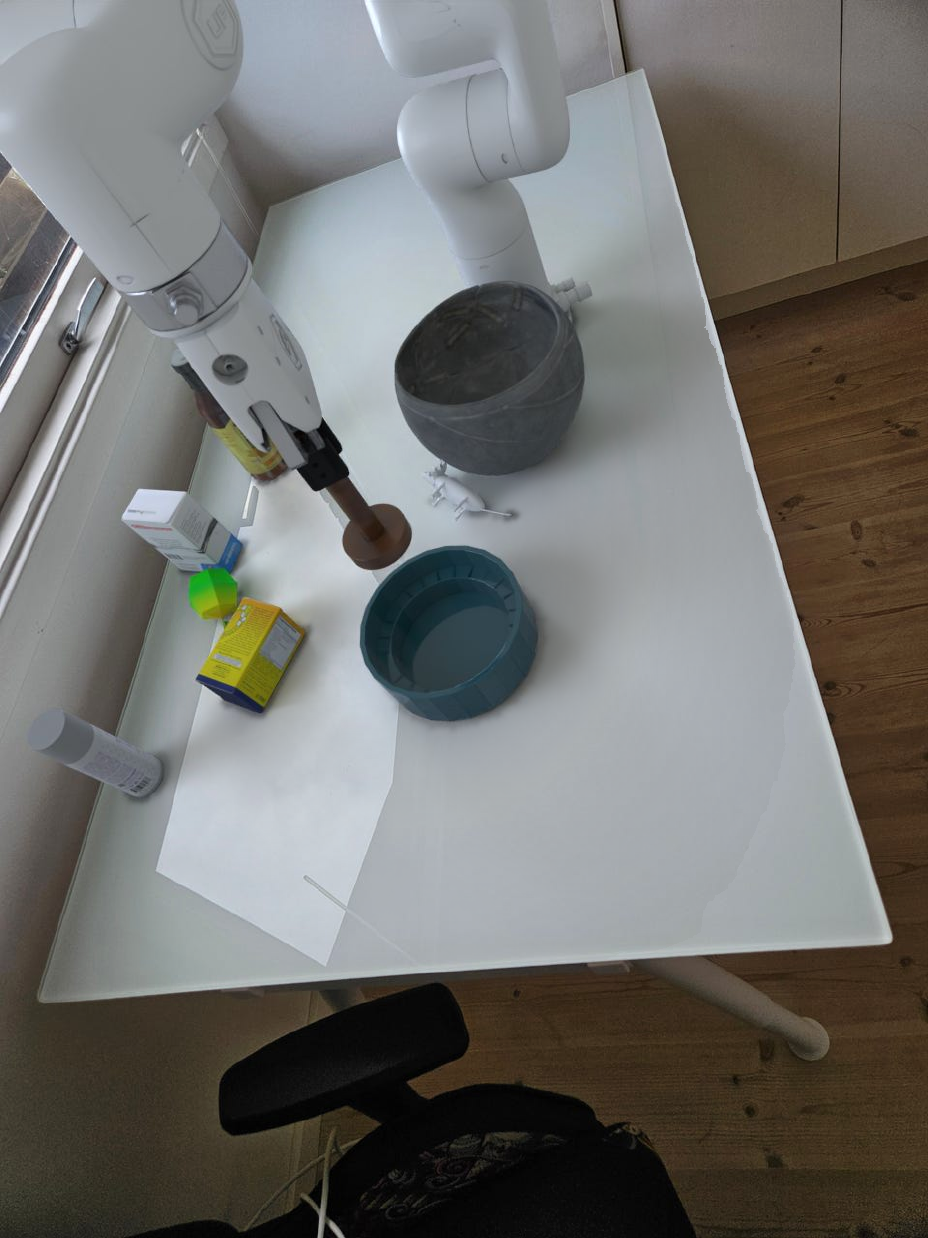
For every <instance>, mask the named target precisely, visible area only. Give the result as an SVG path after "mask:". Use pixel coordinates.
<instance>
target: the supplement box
mask: <svg viewBox="0 0 928 1238" xmlns="http://www.w3.org/2000/svg"><path fill="white" fill-rule="evenodd" d="M228 621H229V623H228V624H227V626H226V628H225V630H224V629H223V632H222V633H221V635H220V636H219V638H218V639H217V642H216V643H215V645H214V647H213V648H212V650H211V652H210V654H209V655H208V657H207V658H206V660H205V661H204V664H203V666H202V667H201V668H200V670H199V672H198V674H196V675H197V676H196V677H195V680H194V681H195V682H197V683H199V684H200V685H202V686H204V687H205V688H207V689H208V690H209V691H211V692H212V693H214V694H215V695H217V696H218V697H219V698H221V699H222V700H223V701H225V702H227V703H230V704H233V705H235V706H237V707H240V708H242V709H243V708H244V709H246V710H249V711H251V712H254V713H256V714H260V715H261V714H262V713H263V711H264V709H265V707H266V706H267V704H268V703H269V701H270V699H271V696H272V695H273V693H274V691H275V689H276V687H277V685H278V684H279V682H280V680H281V678H282V677H283V674H284V673H285V671H286V669H287V667H288V665H289V664H290V662H291V660H292V658H293V657H294V655H295V653H296V651H297V649H298V647H299V645H300V644H301V642H302V640H303V638H304V637H305V636H306V634H307V633H306V630H305V629H304V628H303V627H301V626H300V625H299V624H298V623H297V622H295V620H293V619H292V617H290V616H289V615H288V614H287V613H286V612H285V611H284V610H283V608H282V607H281V606H278V605H274V604H270V603H267V602H263V601H260V600H256V599H253V598H250V597H245V596H243V597H242V599H241V601H240V603H239V605H237V610H236V611H235V612H233V615H232V616H231V618H230V620H228Z"/></svg>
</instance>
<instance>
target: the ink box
mask: <svg viewBox="0 0 928 1238" xmlns="http://www.w3.org/2000/svg"><path fill="white" fill-rule="evenodd" d="M120 520H121V521H122V522H123V523H124V524H126V526H127V527H129V528H130V529H131V530H133V531H134V532H135V533H136V534H137V535H138V536H140V537H141V538H142V539H143V540H145V541H146V542H147V543H148V544H150V545H151V546H152V547H153V548H154V549H156V550H157V551H158V552H159V553H160V554H162V555H163V556H164V557H165V558H166V559H168V560H169V561H170V562H171V563H172V564H174V565H175V566H176V567H177V568H179V570H181V571H188V572H189V571H190V572H199V573H200V572H202V571H204V570H206V569H222V568H225V570H226V571H227V572H228V573H229V574H230V575H231V572H232V571H233V568H234V565H235V564H236V561H237V559H238V557H239V555H240V552H241V549H242V547H243V543H242V542H241V541H240V540H239V539H238V538H237V537H236V536H235V535H234V534H232V533H231V532H230V531H229V530H228V529H227V528H226V527H225V526H224V525H223V524H222V523H220V521H218V520H217V518H215V517H214V516H213V515H212V514H211V513H210V512H209V511H208V510H207V509H206V508H205V507H204V506H202V505H201V504H200V503H199V502H198V501H197V500H196V499H195V498H194V497H193V496H192V495H191V494H189V492H188V491H178V490H163V489H150V488H149V489H148V488H138V489H137V491H136V492H135V494H134V496H133V497H132V499H131V501H130V502H129V504H128V505H127V507H126V509H125V510H124V511H123V514H122V516H121V519H120Z"/></svg>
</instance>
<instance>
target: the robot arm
mask: <svg viewBox="0 0 928 1238" xmlns="http://www.w3.org/2000/svg"><path fill="white" fill-rule="evenodd" d="M363 2H364V4H365V8H366V11H367V13H368V17H369V20H370V22H371V26H372V28H373V30H374V33H375V36H376V39H377V41H378V45H379V47H380V49H381V51H382V53H383V56H384V58H385V60H386V61H387V64H388V65H389V66H390V68H391V69H392V70H393V71H394V72H395V73H396V74H398V75H399V76H401V77H404V78H414V79H415V78H423V77H428V76H432V75H438V74H441V73H444V72H450V71H453V70H456V69H461V68H464V67H468V66H471V65H476V64H480V63H484V62H487V61H492V60H493V61H496V62H497V63H498V64H499V66H500V67H499V68H497V69H492V70H489V71H485V72H481V73H479V74H478V73H475V74H471V75H467V76H463V77H459V78H456V79H452V80H449V81H445V82H441V83H437V84H434V85H431V86H429V87H427V88H425V89H423V90H421V91H419V92H417V93H416V94H414V95H413V96H412V97H410V99H408V101H406V103H405V104H404V105H403V107H402V109H401V112H400V113H399V115H398V120H397V124H396V125H397V126H396V127H397V128H396V140H397V145H398V150H399V153H400V156H401V159H402V161H403V163H404V165H405V168H406V169H407V171H408V173H409V175H410V177H411V178H412V180H413V181H414V183H415V184H416V185H417V187H418V189H419V191H421V193H422V195H423V196H424V197H425V199H426V201H427V202H428V204H429V206H430V208H431V209H432V211H433V213H434V215H435V217H436V220H437V222H438V224H439V226H440V229H441V231H442V232H443V234H444V237H445V239H446V242H447V244H448V246H449V249H450V252H451V254H452V256H453V259H454V261H455V263H456V266H457V269H458V271H459V274H460V276H461V278H462V280H463V281H462V282H463V284H464V286H465V289H468V288H470V287H473V286H476V285H479V286H480V285H482V284H486V283H491V282H497V281H515V282H519V283H523V284H527V285H531V286H533V287H536V288H538V289H539V290H541V291H543V292H544V293H546V294H547V295H549V296H550V297H551V298H552V299H553V300H554V301H555V302H556V303H557V304H558V305H559V306H560V307H561V308H562V310H563V311H564V312H565V313H566V315H567V316H568V318H569V319H570V321H571V323H572V324H573V316H572V313H571V306H573V305H575V304H578V303H581V302H582V301H585V300H587V299H589V298H590V297H592V296H593V291H592V287H591V285H590V284H589V282H588V281H587V280H585V281H583V282H581V283H580V284H577V285H576V282H575V281H574V279H573V277H572V276H570V277H568V278H567V279H565V280H562V281H561V282H560V283H557V284H551V283H550V282H549V280H548V277H547V273H546V270H545V266H544V264H543V261H542V258H541V254H540V251H539V248H538V245H537V241H536V239H535V235H534V232H533V229H532V225H531V222H530V219H529V214H528V212H527V209H526V206H525V205H526V204H525V202H524V200H523V198H522V196H521V194H520V192H519V190H518V189H517V188H516V187H515V184H513V183H512V182H511V181H510V180H509V179H513V178H517V177H522V176H527V175H531V174H535V173H540V172H543V171H546V170H549V169H551V168H553V167H555V166H557V165H558V164H559V163H560V162H561V161H562V160H563V159H564V158H565V156H566V154H567V152H568V149H569V145H570V138H571V122H570V121H571V120H570V113H569V106H568V101H567V94H566V89H565V85H564V79H563V75H562V74H563V73H562V70H561V65H560V60H559V54H558V51H557V46H556V40H555V35H554V30H553V26H552V21H551V15H550V10H549V5H548V0H363ZM243 31H244V30H243V24H242V21H241V16H240V12H239V10H238V6H237V4H236V0H0V154H1V155H2V156H3V158H5V160H6V162H8V164H10V166H11V167H12V168H13V169H14V171H15V172H16V173H17V174H18V175H19V177H20V178H21V179H22V180H23V182H25V184H26V185H27V186H28V187H29V188H30V190H31V192H33V193H34V194H35V196H36V197H37V198H38V199H39V201H40V202H41V203H42V204H43V205H44V206H45V208H46V209H47V211H49V212H50V214H51V215H52V216H53V217H54V218H55V220H56V221H57V222H58V224H60V225H61V227H62V228H63V229H64V230H65V231H66V233H67V234H68V235H69V237H71V239H72V240H73V241H74V242H75V243H76V245H77V246H78V247H79V248H80V249H81V251H82V252H83V253H84V254H85V255H86V256H87V258H88V259H89V260H90V262H91V263H92V264H93V265H94V266H95V267H96V269H97V270H98V271H99V272H100V273H101V274H102V275H103V277H104V278H105V279H106V281H107V282H108V283H109V284H110V285H111V286H112V287H113V288H114V290H115V291H116V292H117V294H119V296H120V297H121V298H122V299H123V300H124V302H125V303H126V304H127V306H128V307H130V309H131V310H132V311H133V312H134V314H135V315H136V316H137V317H138V319H139V320H140V321H141V322H142V323H143V325H144V326H145V327H146V328H147V329H148V330H149V332H150V333H151V334H153V335H154V336H156V337H158V338H161V339H169V340H170V339H172V341H174V344H175V345H176V346H177V348H179V349H180V350H181V352H182V353H183V355H184V356H185V358H186V359H187V360H188V362H189V363H190V365H191V367H192V368H193V369H194V370H195V372H196V373H197V374H198V376H199V377H200V379H201V380H202V381H203V383H204V384H205V385H206V387H207V388H208V389H209V391H210V392H211V393H212V395H213V396H214V398H215V399H216V400H217V401H218V403H219V404H220V405H221V407H222V408H223V409H224V411H225V412H226V413H227V415H228V416H229V417H230V418H231V420H232V421H233V422H234V423H235V425H236V426H237V427H238V428H239V429H240V431H241V432H242V433H243V434H244V435H245V436H246V438H247V439H248V440H249V441H250V442H251V443H252V444H253V445H254V446H255V447H256V448H257V449H258V450H260V451H262V452H266V453H269V452H270V450H271V446H270V441H269V437H270V438H271V440H272V442H273V443H274V445H275V446H276V448H277V450H278V451H279V453H280V454H281V456H282V458H283V459H284V461H285V462H286V464H287V466H286V467H288V469H289V470H290V471H291V472H294V471H295V470H296V471H297V472H298V474H299V475H300V477H301V478H302V479H303V480H304V481H305V483H306V484H307V486H309V488H310V489H311V491H313V492H320V491H322V490H324V489H326V487H328V486H330V485H332V484H334V483H336V482H338V481H340V480H342V479H344V478H346V477H349V476H350V469H349V467H348V466H347V464H346V463H345V461H344V460H343V458H342V457H341V456H340V454H341V453H342V452H343V446H342V443H341V442H340V440H339V438H338V437H337V436H336V434H335V433H334V431H333V430H332V428H331V427H330V426H329V424H328V423H327V421H326V420H325V418H324V417H323V414H322V409H321V405H320V401H319V398H318V393H317V390H316V387H315V386H316V385H315V383H314V380H313V376H312V372H311V368H310V365H309V362H308V359H307V357H306V354H305V352H304V349H303V347H302V345H301V344H300V342H299V341H298V339H297V338H296V337H295V335H294V334H293V332H292V331H291V330H290V328H289V327H288V325H287V324H286V322H285V321H284V320H283V318H282V317H281V316H280V314H279V313H278V311H277V310H276V308H274V306H273V305H272V303H271V302H270V300H269V299H268V298H267V296H266V295H265V293H264V292H263V290H262V289H261V288H260V287H259V285H258V284H257V283H256V281H255V280H254V279H253V270H254V269H253V263H252V261H251V259H250V257H249V256H248V254H247V253H246V252H245V250H244V248H243V247H242V246H241V243H240V242H239V241H238V239H237V238H236V236H235V235H234V234H233V232H232V230H231V228H230V227H229V225H228V224H227V222H226V221H225V220H224V218H223V216H222V215H221V213H220V212H219V210H218V208H217V207H216V205H215V204H214V202H213V200H212V199H211V197H210V196H209V194H208V193H207V192H206V189H205V188H204V186H203V185H202V184H201V182H200V180H199V179H198V178H197V176H196V175H195V172H193V170H192V168H191V166H190V165H189V164H188V162H187V161H186V159H185V157H184V156H183V153H182V147H183V145H184V142H185V141H186V140H188V139H189V137H190V136H192V135H193V133H195V132H196V130H198V129H199V128H200V127H201V126H202V125H203V124H204V123H205V122H206V121H207V120H208V119H209V118H210V117H212V115H213V114H215V113H216V112H217V111H218V110H219V109H220V108H221V106H222V105H223V104H224V103H225V102H226V101H227V99H228V98H229V96H230V95H231V93H232V92H233V90H234V88H235V85H236V83H237V81H238V80H239V79H238V78H239V76H240V73H241V69H242V65H243V58H244V45H245V43H244V32H243ZM298 430H302V431H304V432H305V434H306V435H302V436H300V437H298V438H295V436H294V435H293V433H295V432H297V431H298ZM268 435H269V436H268Z"/></svg>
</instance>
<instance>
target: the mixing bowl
mask: <svg viewBox="0 0 928 1238" xmlns="http://www.w3.org/2000/svg"><path fill="white" fill-rule="evenodd" d="M538 641H539V631H538V623H537V617H536V614H535V612H534V610H533V608H532V605H531V603H530V601H529V599H528V597H527V595H526V593H525V592H524V590H523V588H522V587H521V584H520V583H519V580H518V579H517V577H516V575H515V573H514V572H513V571H512V570H511V568H510V567H509V566H508V565H507V564H506V563H505V562H504V560H502V559H501V558H499V557H498V556H496V555H495V554H493V553H491V552H489V551H487V550H486V549H482V548H478V547H474V546H470V545H465V544H464V545H443V546H439V547H437V548H432V549H427V550H425V551H422V552H421V553H418V554H417V555H415V556H414V555H413V556H412V557H410V558H408V559H407V560H405V561H404V562H403V563H401V564H400V565H399V566H397V567H396V568H394V569H393V570H392V571H391V572H389V574H388V575H387V576H386V577H385V578H384V579H383V580H382V581H381V583H380V584H379V585H378V586H377V587H376V588H375V590H374V592H373V594H372V595H371V597H370V599H369V601H368V603H367V604H366V606H365V609H364V612H363V615H362V619H361V622H360V626H359V648H360V652H361V655H362V659H363V663H364V665H365V667H366V668H367V669H368V671H369V673H370V674H371V676H372V678H373V679H374V680H375V681H376V682H377V683H378V684H380V686H381V687H382V688H383V689H384V690H385V691H387V693H389V694H390V696H391V697H393V699H395V701H396V702H397V703H399V704H400V705H401V706H403V707H404V708H405V709H406V710H408V712H410V713H412V714H413V715H416V716H419V717H422V718H425V719H426V720H429V721H435V722H447V723H448V722H449V723H450V722H456V721H461V720H467V719H472V718H476V717H477V716H480V715H481V714H484V713H485V712H486V713H487V712H488V711H490V710H492V709H494V708H496V707H497V706H498V705H500V704H501V703H502V702H503V701H505V700H506V699H508V697H509V696H511V695H512V694H513V693H514V692H515V690H516V689H517V688H518V687H519V685H520V684H521V683H522V682H523V681H524V679H526V677H527V675H528V672H529V670H530V669H531V666H532V664H533V662H534V661H535V660H534V659H535V658H536V657H535V656H536V653H537V652H536V651H537V646H538Z"/></svg>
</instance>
